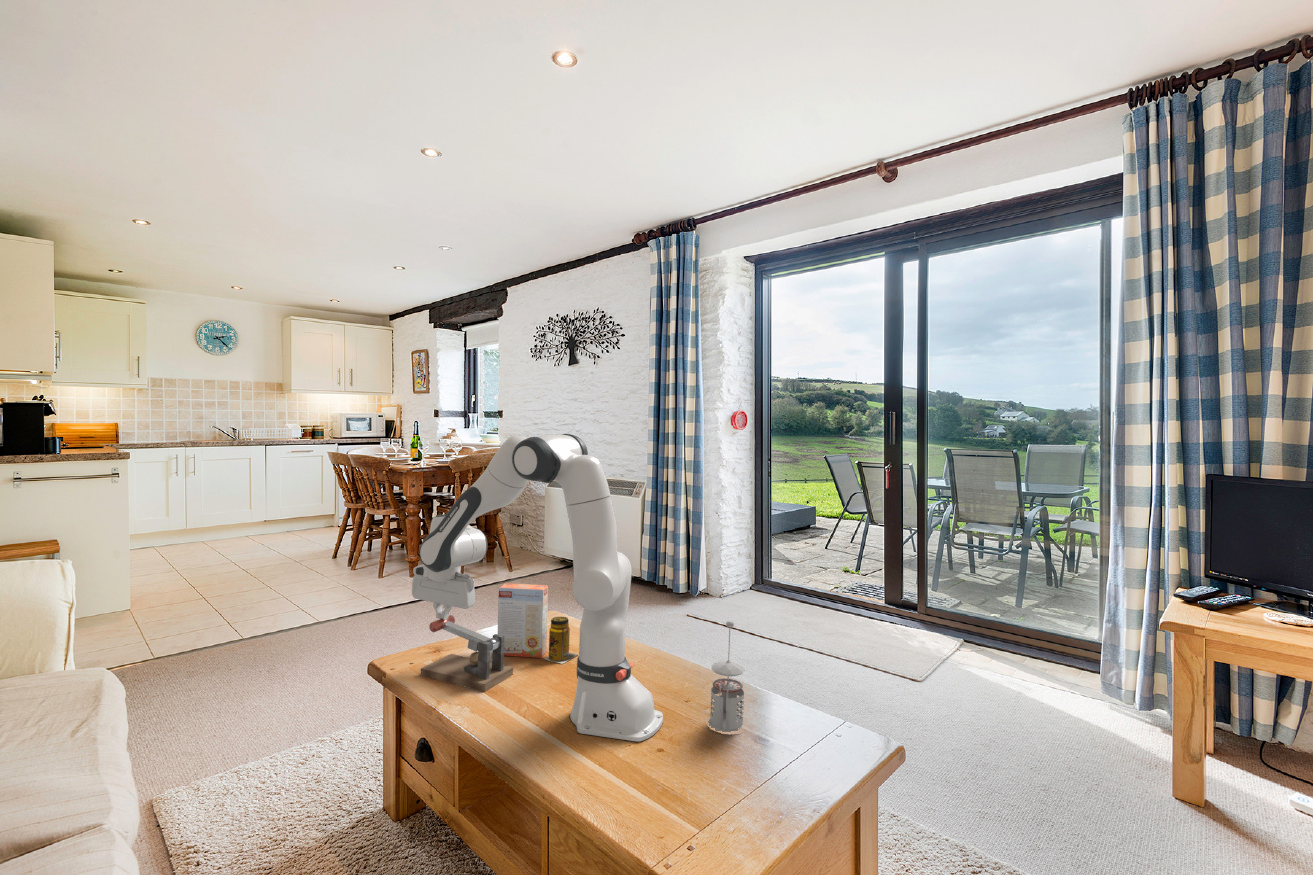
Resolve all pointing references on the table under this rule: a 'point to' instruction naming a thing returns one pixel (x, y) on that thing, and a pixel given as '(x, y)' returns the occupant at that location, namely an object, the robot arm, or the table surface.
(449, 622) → the lever
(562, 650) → the condiment
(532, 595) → the cracker box
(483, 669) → the tabletop arbor press
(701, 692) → the table surface
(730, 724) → the french press
